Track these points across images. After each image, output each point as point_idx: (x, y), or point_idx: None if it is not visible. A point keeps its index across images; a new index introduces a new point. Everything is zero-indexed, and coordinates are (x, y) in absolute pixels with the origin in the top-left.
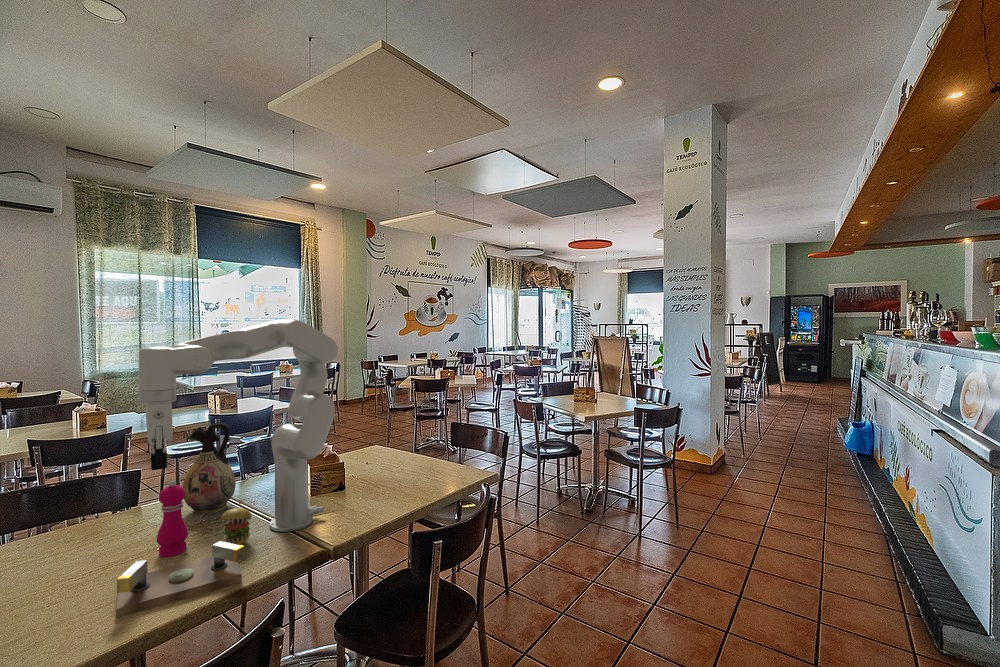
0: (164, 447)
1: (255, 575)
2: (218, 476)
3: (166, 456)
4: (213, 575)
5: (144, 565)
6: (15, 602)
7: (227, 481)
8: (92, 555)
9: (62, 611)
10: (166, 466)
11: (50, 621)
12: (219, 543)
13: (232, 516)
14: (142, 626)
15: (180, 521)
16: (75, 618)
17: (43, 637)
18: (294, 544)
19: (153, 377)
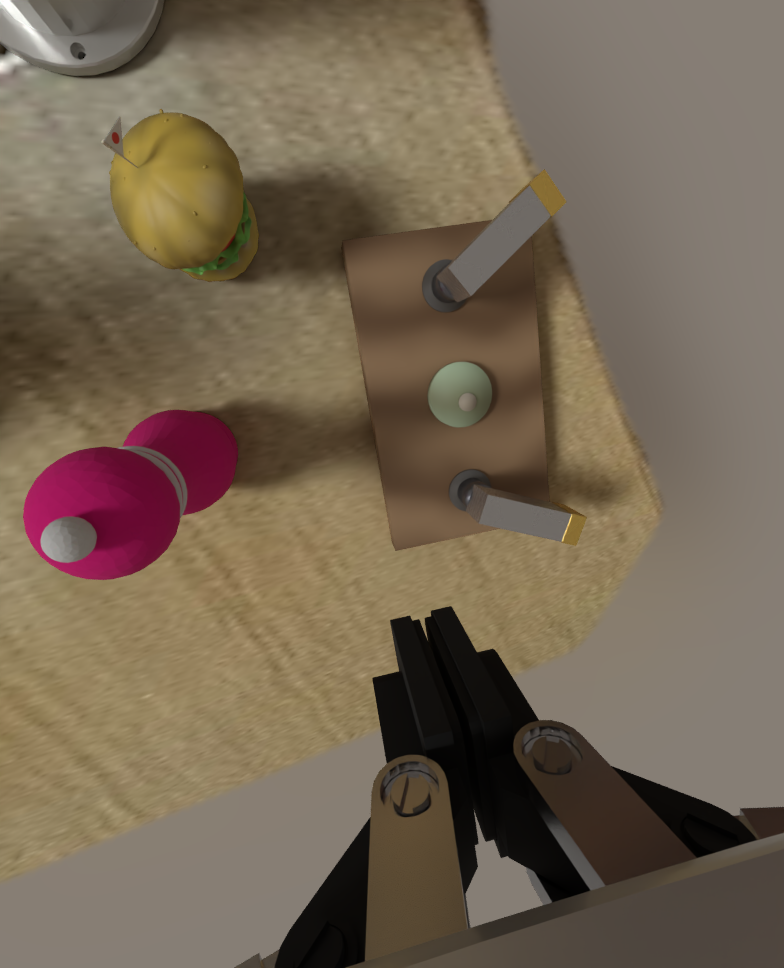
0: (640, 805)
1: (497, 177)
2: None
3: (491, 680)
4: (495, 302)
5: (500, 496)
6: (357, 729)
7: None
8: (134, 668)
9: None
10: (452, 613)
11: (481, 632)
12: (469, 269)
13: (237, 206)
14: (604, 450)
15: (175, 443)
16: (494, 590)
17: (540, 621)
18: None
19: None
